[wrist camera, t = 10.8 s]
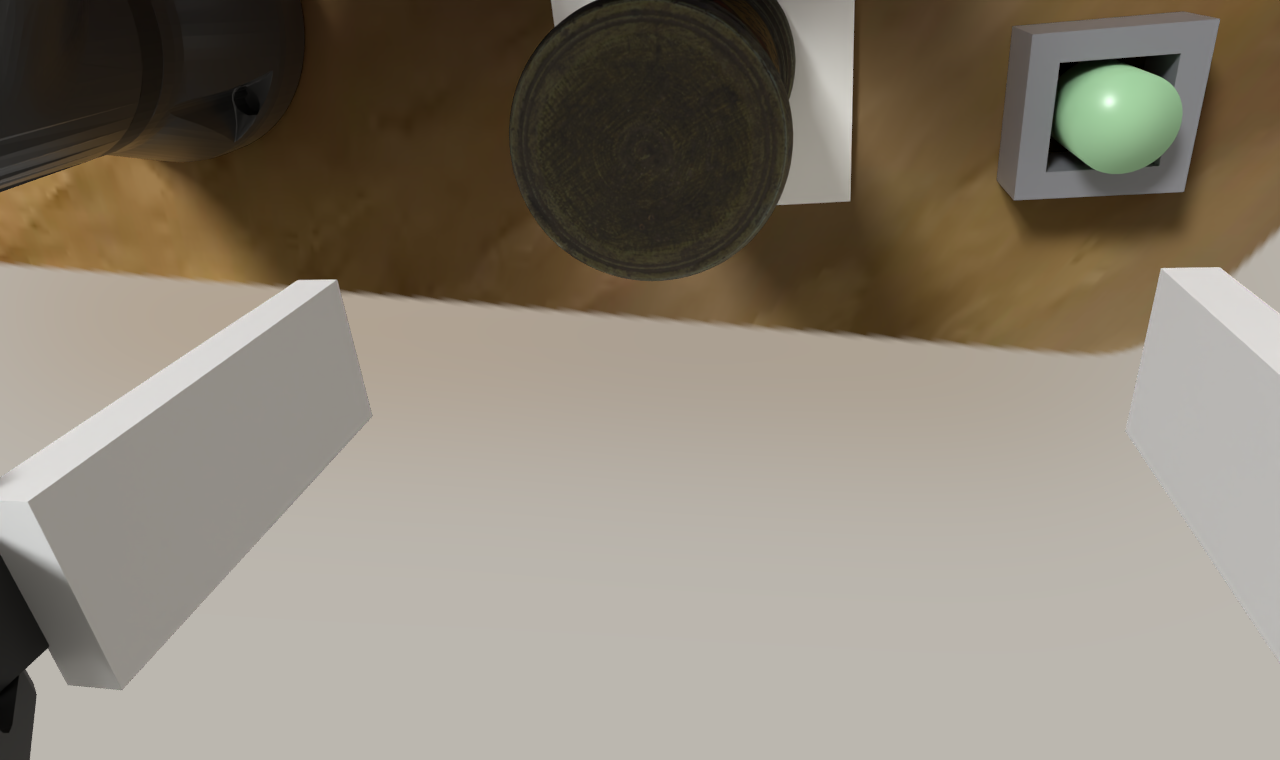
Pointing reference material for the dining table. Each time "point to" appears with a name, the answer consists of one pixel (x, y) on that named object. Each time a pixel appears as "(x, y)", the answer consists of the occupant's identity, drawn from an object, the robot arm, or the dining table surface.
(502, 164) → the dining table surface
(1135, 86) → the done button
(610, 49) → the container
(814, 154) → the paper sheet
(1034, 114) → the button housing
